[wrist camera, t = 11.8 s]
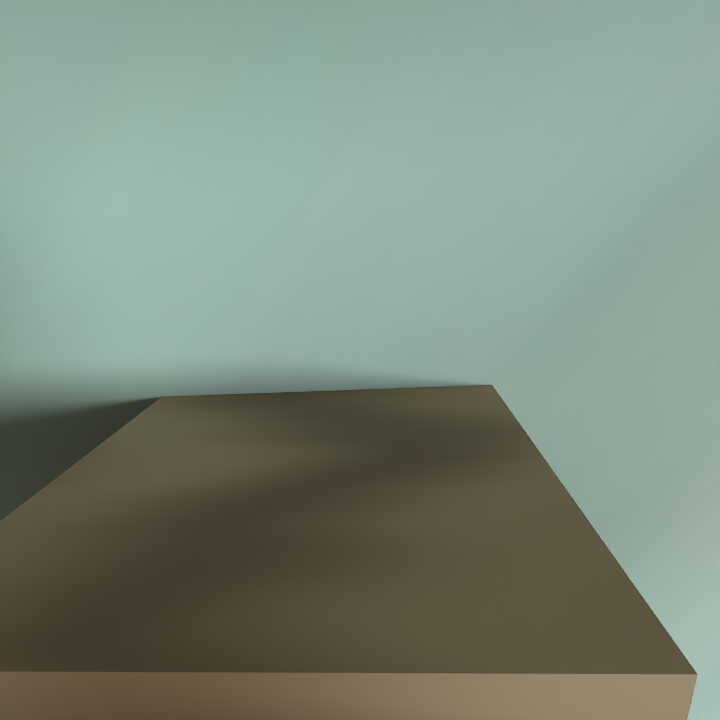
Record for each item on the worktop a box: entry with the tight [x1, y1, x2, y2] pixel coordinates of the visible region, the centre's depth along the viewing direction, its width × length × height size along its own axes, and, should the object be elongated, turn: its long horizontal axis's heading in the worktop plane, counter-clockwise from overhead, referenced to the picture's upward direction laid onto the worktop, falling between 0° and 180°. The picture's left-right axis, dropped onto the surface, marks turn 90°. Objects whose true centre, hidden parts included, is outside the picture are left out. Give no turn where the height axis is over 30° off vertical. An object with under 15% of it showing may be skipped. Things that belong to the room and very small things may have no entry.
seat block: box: [0, 385, 697, 720], centre depth 7 cm, size 7×7×6 cm
